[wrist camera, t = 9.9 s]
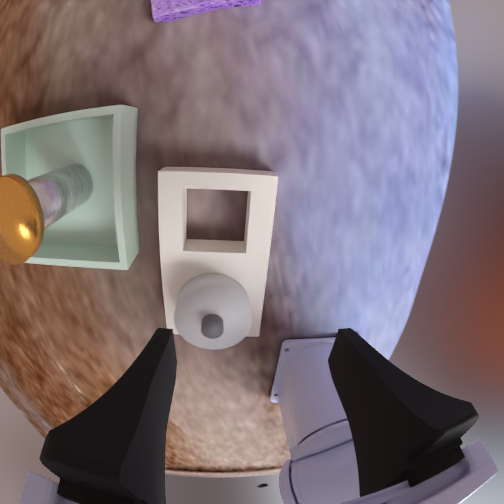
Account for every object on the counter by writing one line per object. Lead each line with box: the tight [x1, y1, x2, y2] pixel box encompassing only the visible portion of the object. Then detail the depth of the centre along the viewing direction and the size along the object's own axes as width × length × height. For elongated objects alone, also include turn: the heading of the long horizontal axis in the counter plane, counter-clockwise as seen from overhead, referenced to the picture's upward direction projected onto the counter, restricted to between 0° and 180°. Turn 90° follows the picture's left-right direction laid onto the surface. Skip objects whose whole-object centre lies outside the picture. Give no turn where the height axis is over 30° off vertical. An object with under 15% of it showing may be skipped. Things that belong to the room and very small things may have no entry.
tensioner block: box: [158, 167, 278, 350], centre depth 18 cm, size 12×7×5 cm, turn 175°
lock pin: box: [0, 164, 93, 265], centre depth 12 cm, size 4×4×8 cm
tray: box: [1, 105, 140, 270], centre depth 15 cm, size 10×10×3 cm
